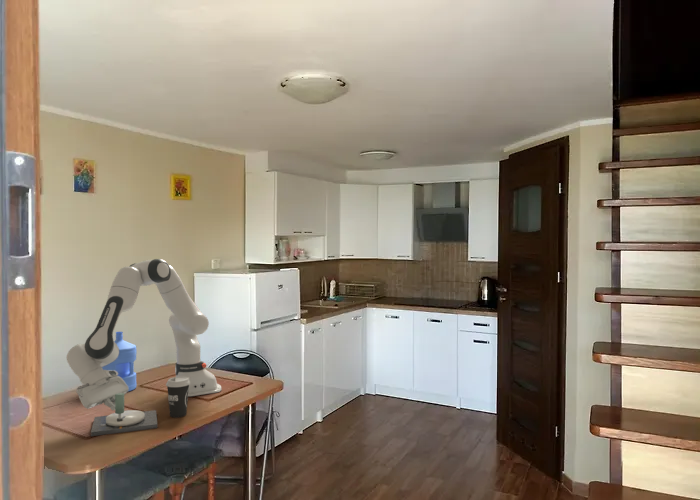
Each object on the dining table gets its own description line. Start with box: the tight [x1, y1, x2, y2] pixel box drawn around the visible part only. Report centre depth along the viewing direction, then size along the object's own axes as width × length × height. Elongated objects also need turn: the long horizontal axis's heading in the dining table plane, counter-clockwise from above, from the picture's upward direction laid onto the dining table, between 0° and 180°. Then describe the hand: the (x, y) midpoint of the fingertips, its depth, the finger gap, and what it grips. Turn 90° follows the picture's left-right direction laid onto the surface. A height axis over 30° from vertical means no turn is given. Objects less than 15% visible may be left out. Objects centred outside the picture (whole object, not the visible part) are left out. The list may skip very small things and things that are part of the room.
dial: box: [106, 393, 145, 426], centre depth 202 cm, size 14×14×12 cm
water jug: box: [102, 331, 137, 392], centre depth 250 cm, size 16×16×28 cm
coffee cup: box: [165, 376, 190, 419], centre depth 213 cm, size 10×10×15 cm
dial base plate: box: [90, 409, 158, 437], centre depth 202 cm, size 23×18×2 cm
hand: (116, 408), depth 198 cm, fingers closed, pressing on dial
